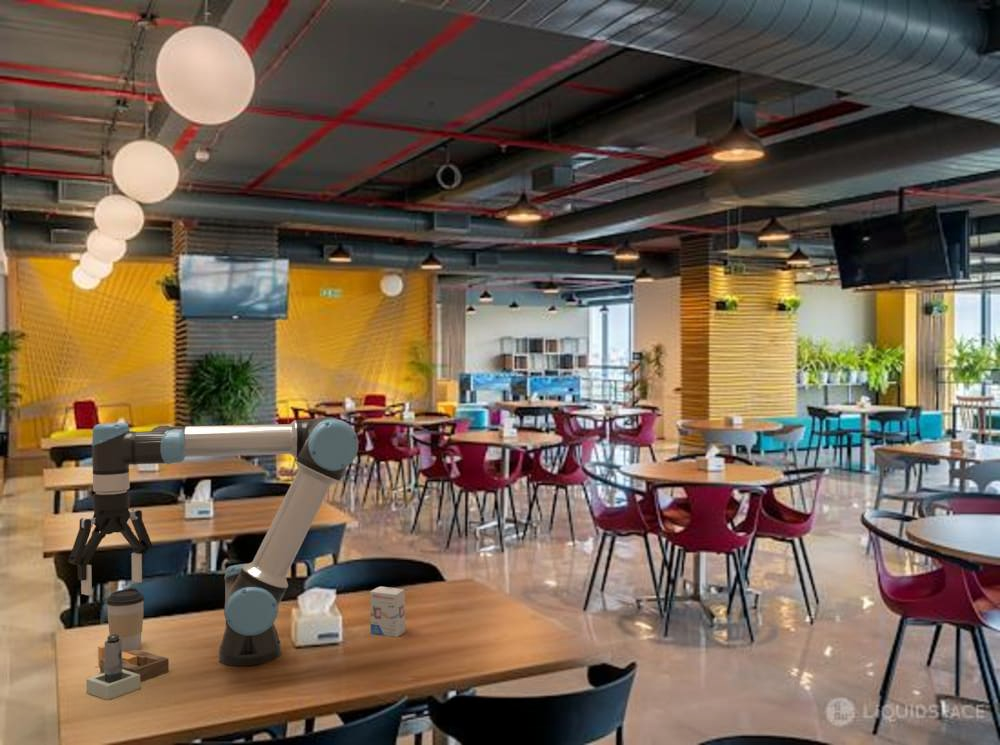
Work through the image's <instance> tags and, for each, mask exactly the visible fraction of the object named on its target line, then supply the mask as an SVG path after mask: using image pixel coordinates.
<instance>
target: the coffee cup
mask: <svg viewBox="0 0 1000 745" xmlns="http://www.w3.org/2000/svg"><path fill="white" fill-rule="evenodd" d="M144 601H145V595H144V594H143V593H141V592H140V590H139V589H138V588H136V587H129V588H127V589H122V590H117V591H114V592H112V593H111V594H110V595H109V597H107V599H106V603H105V604H106V606H107V613H106V614H107V624H108V633H109V635H108V636H110V635H119V639H121V640H122V652H125V651H128V650H131V649H137V650H140V649H141V647H142V646H141V643H142V633H143V623H144V610H145V609H144Z"/></svg>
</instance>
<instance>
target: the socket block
mask: <svg viewBox="0 0 1000 745" xmlns="http://www.w3.org/2000/svg"><path fill="white" fill-rule="evenodd" d="M125 653H129V654H132V655H135V656H137V665H134V664H130V662H129V661H125V660H122V669H124V670H127V671H130V672H133V673H136V674H140V682H142V681H145V680H148V679H150V678H154V677H156V676H159V675H162V674H165V673H167V672H169V670H170V668H169V663H170V662H169V661H170V660H169V658H168V657H164V656H160V655H159V654H158V655H157V654H153V653H151V652H147V651H144V650H140V649H139V650H137V649H131V650H128V651H125ZM99 667H100V668H99V671H100V673H101V674H103V673H105V658H104V659H101V660H100V665H99Z"/></svg>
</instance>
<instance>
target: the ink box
mask: <svg viewBox="0 0 1000 745" xmlns="http://www.w3.org/2000/svg"><path fill="white" fill-rule="evenodd" d="M369 596H370V601H369V603H370V604H369V606H370V608H369V609H370V634H373V635H380V636H387V637H393V638H398V637H399V636H401V635H402V634H404V633H406V604H405V603H406V598H405V597H406V595H405V590H404V589H401V588H395V587H390V586H389V587H387V586H378V587H375V588H374V589H372V590H370V592H369Z"/></svg>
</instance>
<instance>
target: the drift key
mask: <svg viewBox="0 0 1000 745" xmlns="http://www.w3.org/2000/svg"><path fill="white" fill-rule="evenodd" d="M97 648H98V649H97V652H98V653H97V654H98V655H97V658H98V662H97V663H98V666H100V660H101V659H104V658H105V644H103V645H100V646H98V647H97ZM122 660H125V661H129V662H130V664H134V665H137V656H135V655H132V654H129V653H125V652H122Z"/></svg>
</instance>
